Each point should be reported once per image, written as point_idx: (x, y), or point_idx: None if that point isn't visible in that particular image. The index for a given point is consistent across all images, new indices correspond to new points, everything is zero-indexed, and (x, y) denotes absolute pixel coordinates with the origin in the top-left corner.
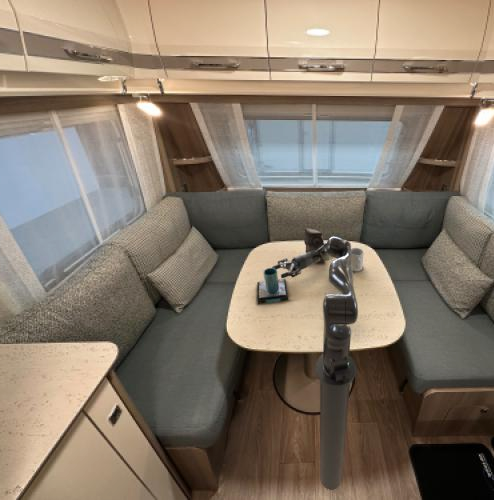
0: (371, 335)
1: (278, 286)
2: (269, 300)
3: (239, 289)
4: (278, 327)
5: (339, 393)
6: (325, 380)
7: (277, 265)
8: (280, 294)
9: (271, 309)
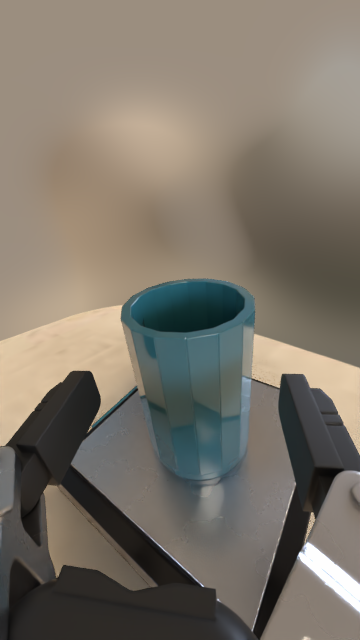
0: None
1: (159, 456)
2: (136, 386)
3: (329, 358)
4: (28, 366)
5: None
6: None
7: (305, 434)
8: (98, 431)
9: (106, 388)
